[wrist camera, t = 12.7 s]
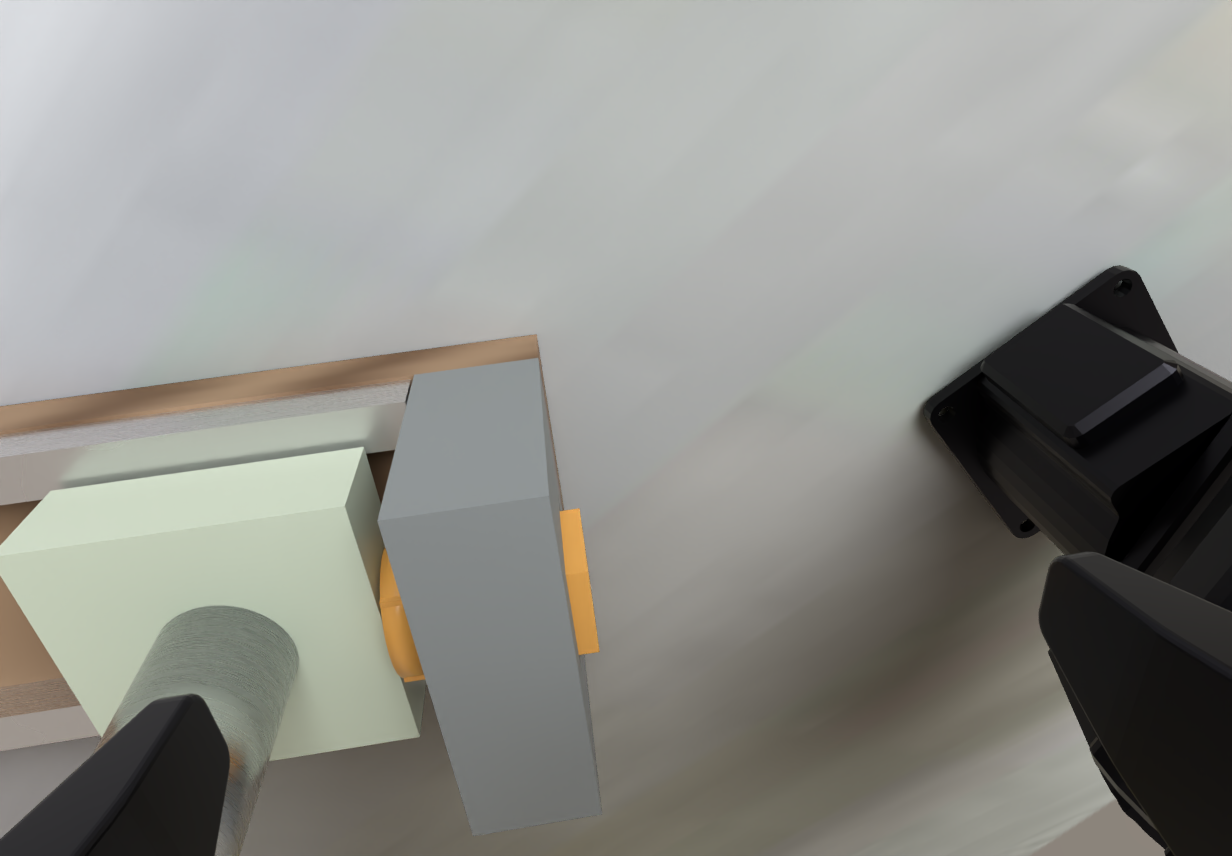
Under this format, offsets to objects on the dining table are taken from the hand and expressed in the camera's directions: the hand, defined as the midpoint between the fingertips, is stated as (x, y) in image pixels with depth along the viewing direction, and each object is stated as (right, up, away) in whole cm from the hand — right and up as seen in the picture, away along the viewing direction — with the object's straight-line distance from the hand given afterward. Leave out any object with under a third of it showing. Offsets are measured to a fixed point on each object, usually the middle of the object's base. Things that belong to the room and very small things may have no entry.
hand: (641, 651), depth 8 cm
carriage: (-9, -2, +11) cm, 15 cm away
